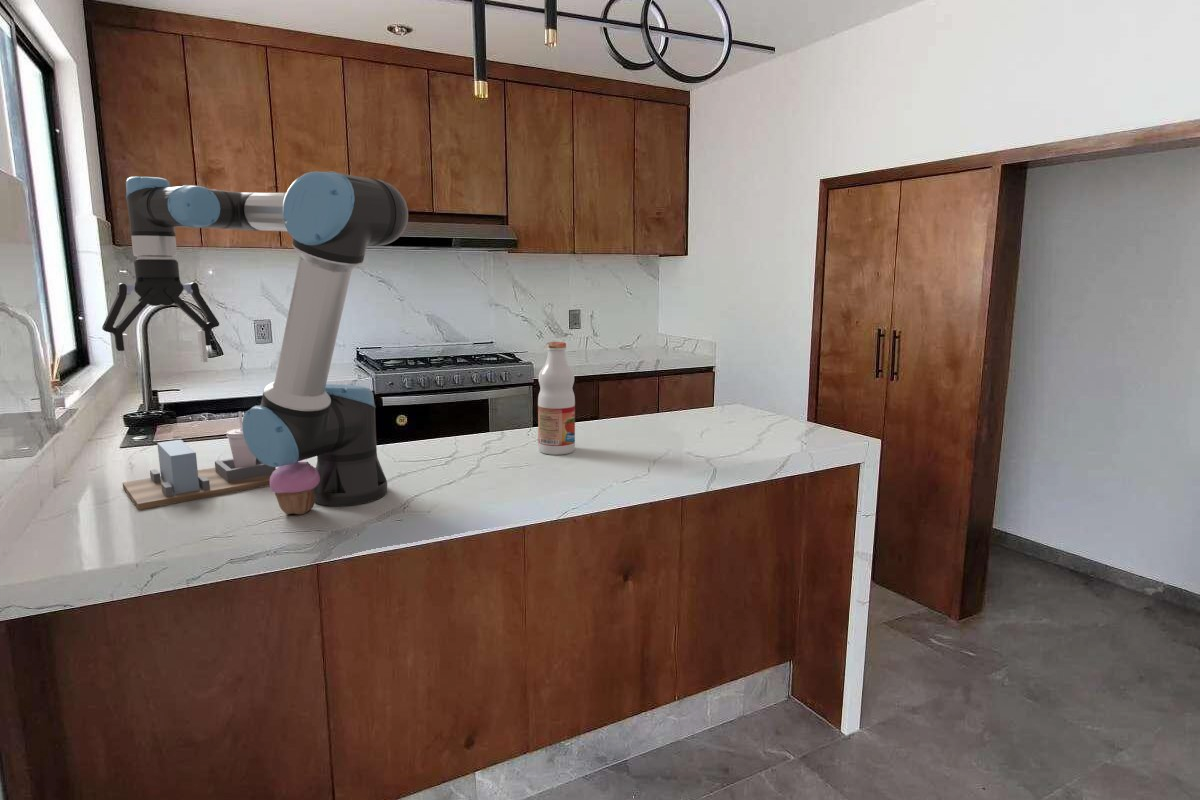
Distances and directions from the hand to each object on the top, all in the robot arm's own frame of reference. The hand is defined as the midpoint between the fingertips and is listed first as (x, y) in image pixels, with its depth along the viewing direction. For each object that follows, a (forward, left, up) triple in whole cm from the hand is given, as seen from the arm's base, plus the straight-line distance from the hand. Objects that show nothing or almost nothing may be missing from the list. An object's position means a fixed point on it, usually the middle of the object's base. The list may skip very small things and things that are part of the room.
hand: (167, 364), depth 147 cm
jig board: (0, -5, -27) cm, 27 cm away
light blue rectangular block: (0, 0, -26) cm, 26 cm away
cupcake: (-30, -14, -27) cm, 43 cm away
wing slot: (0, 0, -26) cm, 26 cm away
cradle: (0, -13, -25) cm, 29 cm away
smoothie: (0, -13, -26) cm, 29 cm away
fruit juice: (-25, -81, -27) cm, 89 cm away
